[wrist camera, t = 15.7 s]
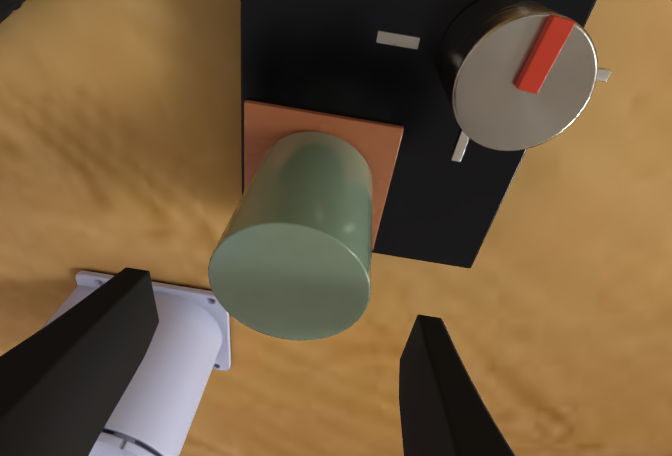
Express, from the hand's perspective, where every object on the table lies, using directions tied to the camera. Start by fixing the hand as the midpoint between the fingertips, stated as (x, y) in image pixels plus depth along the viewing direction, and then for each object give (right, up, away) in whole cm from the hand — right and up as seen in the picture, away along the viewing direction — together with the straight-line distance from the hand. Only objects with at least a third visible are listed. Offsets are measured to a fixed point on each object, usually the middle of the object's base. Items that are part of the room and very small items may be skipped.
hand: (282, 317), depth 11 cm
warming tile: (+1, +4, +6) cm, 7 cm away
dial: (+7, +8, +2) cm, 11 cm away
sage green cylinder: (+1, +4, +6) cm, 7 cm away
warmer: (+3, +8, +6) cm, 10 cm away
